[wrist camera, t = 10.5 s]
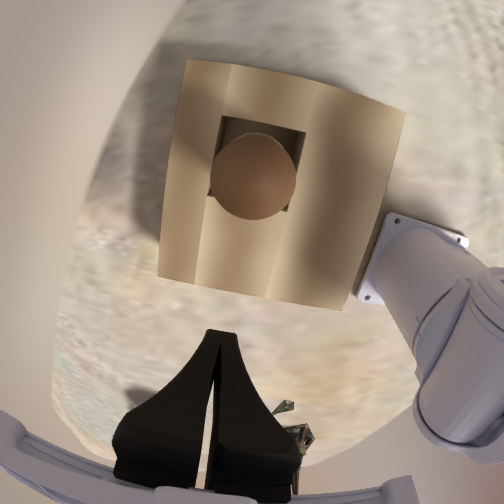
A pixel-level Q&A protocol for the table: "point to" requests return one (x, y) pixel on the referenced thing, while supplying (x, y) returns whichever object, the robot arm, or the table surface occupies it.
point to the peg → (253, 177)
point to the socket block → (305, 194)
